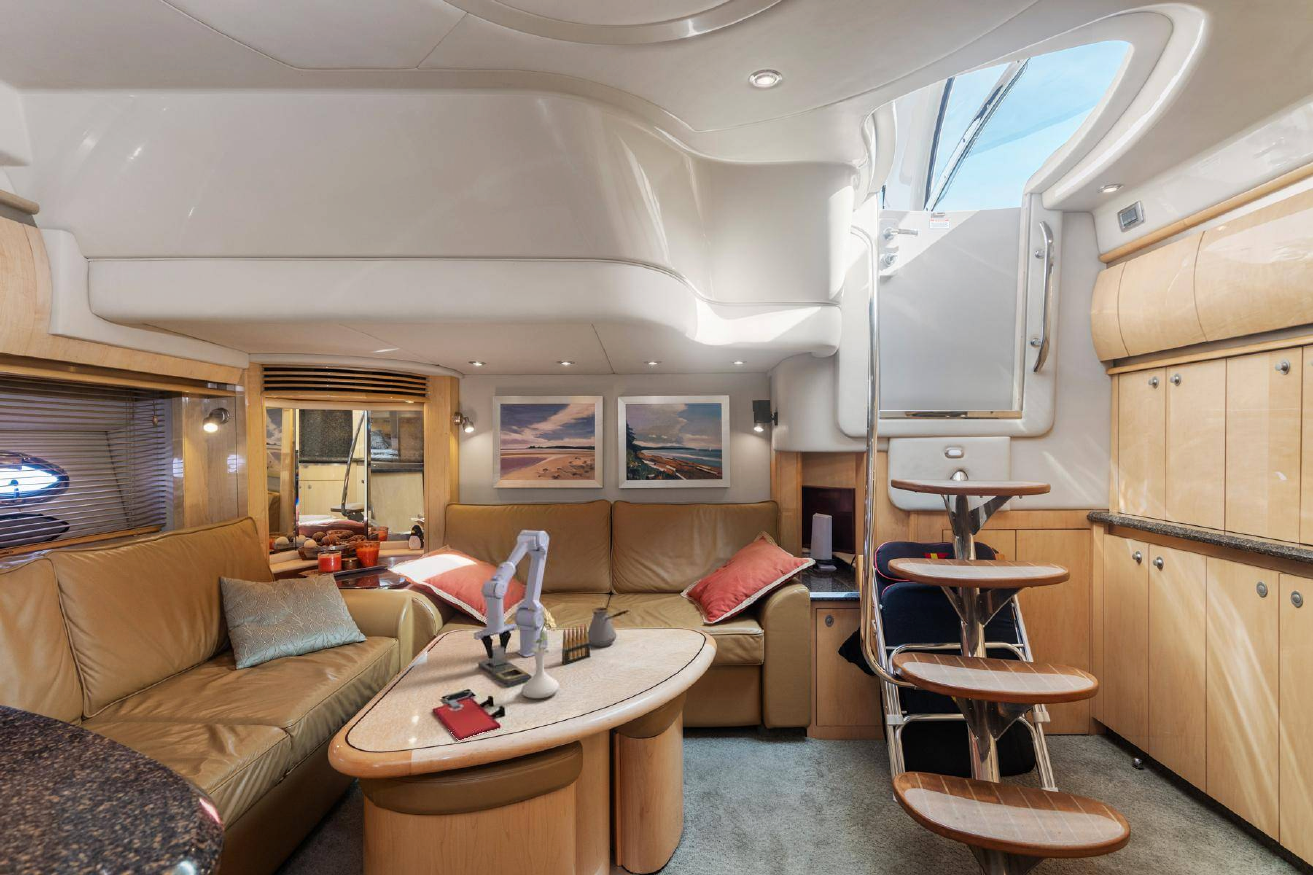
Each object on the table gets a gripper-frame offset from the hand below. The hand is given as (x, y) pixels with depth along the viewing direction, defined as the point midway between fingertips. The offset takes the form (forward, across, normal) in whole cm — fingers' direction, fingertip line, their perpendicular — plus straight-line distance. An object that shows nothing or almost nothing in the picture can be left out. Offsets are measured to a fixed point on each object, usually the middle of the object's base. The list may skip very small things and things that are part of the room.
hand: (496, 655), depth 203 cm
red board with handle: (+5, -20, -27) cm, 34 cm away
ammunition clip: (+5, +24, -12) cm, 27 cm away
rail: (+4, 0, -6) cm, 7 cm away
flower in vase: (+4, +2, -29) cm, 29 cm away
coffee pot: (+5, +41, -8) cm, 42 cm away
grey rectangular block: (+3, 0, 0) cm, 3 cm away
